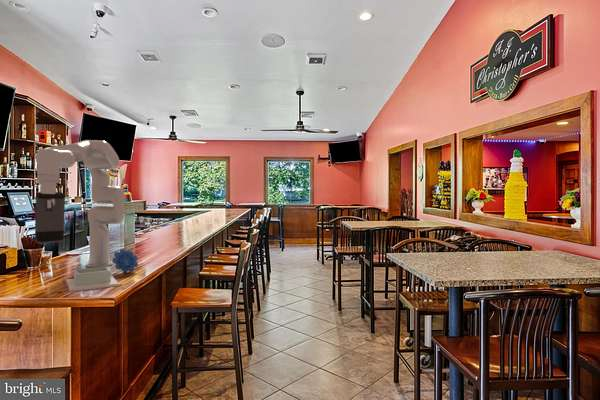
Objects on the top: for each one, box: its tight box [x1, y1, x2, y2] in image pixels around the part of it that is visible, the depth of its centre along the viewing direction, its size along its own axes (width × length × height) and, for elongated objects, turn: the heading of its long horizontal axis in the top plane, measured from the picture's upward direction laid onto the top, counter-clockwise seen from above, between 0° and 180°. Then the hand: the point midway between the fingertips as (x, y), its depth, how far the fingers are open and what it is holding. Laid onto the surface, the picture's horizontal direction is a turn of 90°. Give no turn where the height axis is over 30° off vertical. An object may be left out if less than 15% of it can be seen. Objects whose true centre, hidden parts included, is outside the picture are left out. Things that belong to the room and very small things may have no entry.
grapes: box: [111, 248, 139, 274], centre depth 183 cm, size 12×7×12 cm, turn 117°
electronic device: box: [34, 191, 66, 244], centre depth 152 cm, size 9×6×20 cm, turn 138°
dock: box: [65, 266, 120, 292], centre depth 163 cm, size 18×18×6 cm
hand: (48, 223), depth 153 cm, fingers closed on electronic device, 4 cm apart
